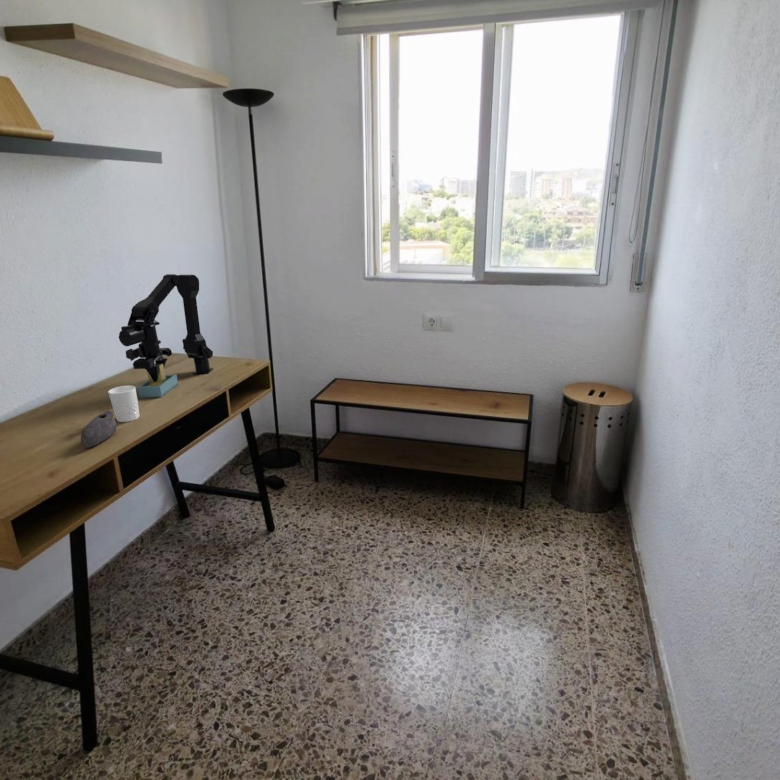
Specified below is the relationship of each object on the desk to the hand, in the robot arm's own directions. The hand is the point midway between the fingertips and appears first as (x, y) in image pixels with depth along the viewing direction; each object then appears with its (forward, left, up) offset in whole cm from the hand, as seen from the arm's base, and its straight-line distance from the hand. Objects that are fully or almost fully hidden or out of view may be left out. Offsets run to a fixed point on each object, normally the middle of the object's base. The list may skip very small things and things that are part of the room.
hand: (157, 380), depth 195 cm
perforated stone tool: (+44, +2, -4) cm, 45 cm away
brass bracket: (0, 0, -2) cm, 2 cm away
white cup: (+27, +2, -4) cm, 27 cm away
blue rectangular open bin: (0, 0, -4) cm, 4 cm away
